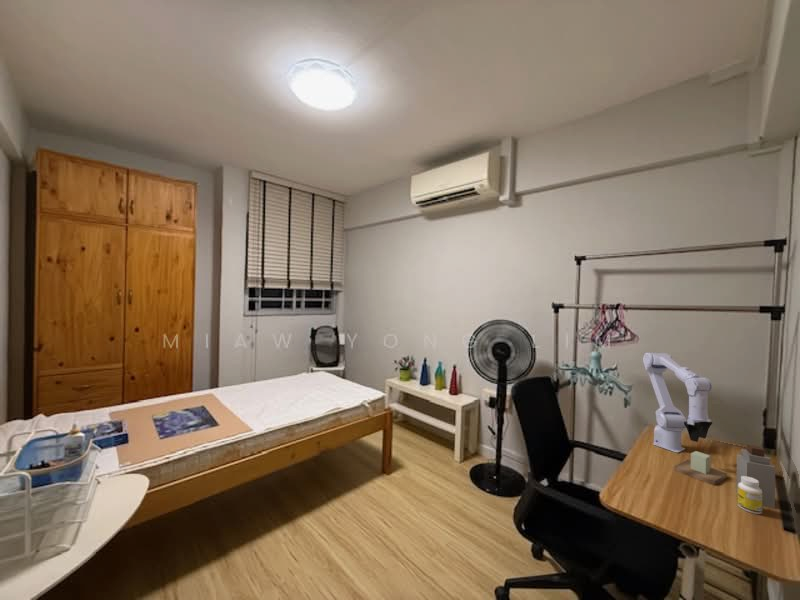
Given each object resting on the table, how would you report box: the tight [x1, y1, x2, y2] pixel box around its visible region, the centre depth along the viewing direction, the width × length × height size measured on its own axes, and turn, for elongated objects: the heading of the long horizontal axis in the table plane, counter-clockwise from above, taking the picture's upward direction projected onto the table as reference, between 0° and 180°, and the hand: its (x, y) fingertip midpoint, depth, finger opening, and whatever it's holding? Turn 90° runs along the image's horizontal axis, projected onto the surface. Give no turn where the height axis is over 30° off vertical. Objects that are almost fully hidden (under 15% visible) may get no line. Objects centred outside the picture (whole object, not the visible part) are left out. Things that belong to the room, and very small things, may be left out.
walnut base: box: [673, 459, 728, 486], centre depth 126 cm, size 12×12×2 cm
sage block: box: [690, 450, 712, 474], centre depth 126 cm, size 4×4×6 cm
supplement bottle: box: [737, 476, 763, 515], centre depth 105 cm, size 5×5×10 cm
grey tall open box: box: [736, 443, 776, 509], centre depth 110 cm, size 7×7×18 cm
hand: (698, 439), depth 134 cm, fingers open, 7 cm apart
